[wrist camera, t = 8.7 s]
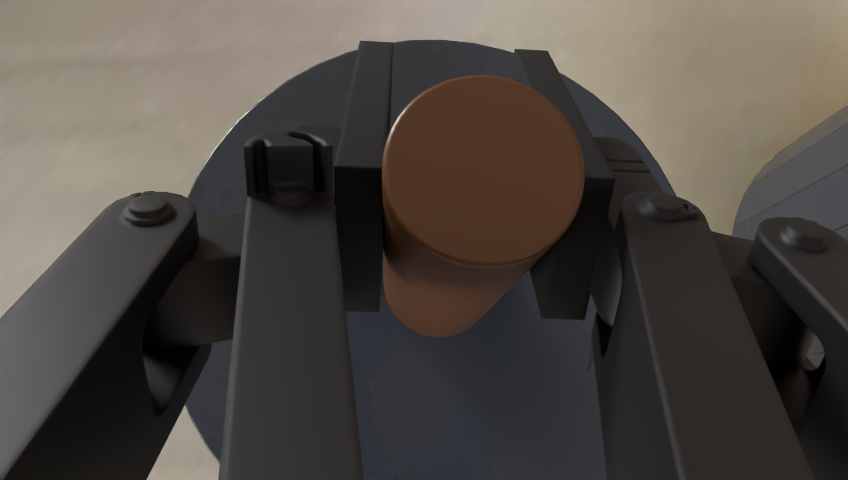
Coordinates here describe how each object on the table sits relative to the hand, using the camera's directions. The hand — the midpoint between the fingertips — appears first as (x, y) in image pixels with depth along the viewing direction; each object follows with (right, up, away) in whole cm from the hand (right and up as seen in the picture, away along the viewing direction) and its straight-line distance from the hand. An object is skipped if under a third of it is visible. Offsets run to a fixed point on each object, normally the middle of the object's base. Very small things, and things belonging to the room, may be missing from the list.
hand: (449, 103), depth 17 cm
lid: (0, -4, +2) cm, 5 cm away
